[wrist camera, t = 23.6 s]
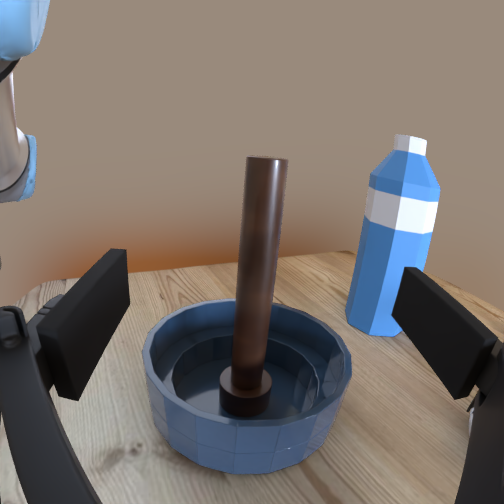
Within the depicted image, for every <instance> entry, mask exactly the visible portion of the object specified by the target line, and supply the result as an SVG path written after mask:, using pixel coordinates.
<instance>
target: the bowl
mask: <svg viewBox="0 0 504 504" xmlns="http://www.w3.org/2000/svg"><path fill="white" fill-rule="evenodd" d="M235 301H236V299H233V298H228V299H219V300H209V301H203V302H199V303H196V304H192V305H189V306H185V307H182V308H180V309H178V310H176V311H175V312H173V313H171V314H169V315H167V316H165V317H163V318H162V319H161V320H160V321H159V322H158V323H157V324H156V325H155V326H154V327H153V328H152V329H151V330H150V332H149V333H148V335H147V338H146V341H145V344H144V347H143V350H142V357H143V364H144V371H145V378H146V384H147V390H148V396H149V402H150V407H151V411H152V415H153V420H154V424H155V426H156V428H157V429H158V430H159V432H160V433H161V434H162V436H163V437H164V438H165V440H166V441H167V442H168V444H169V445H170V446H171V447H172V448H174V449H175V450H177V451H178V452H180V453H181V454H183V455H184V456H186V457H187V458H189V459H190V460H192V461H193V462H195V463H197V464H198V465H201V466H205V467H208V468H212V469H215V470H219V471H223V472H226V473H230V474H263V473H271V472H274V471H277V470H280V469H283V468H286V467H289V466H292V465H295V464H298V463H300V462H301V461H303V460H304V459H305V458H307V457H308V456H309V455H311V454H312V453H313V452H314V451H316V450H317V449H318V448H319V447H321V446H322V445H323V443H324V441H325V440H326V438H327V436H328V434H329V432H330V431H331V429H332V427H333V425H334V422H335V420H336V417H337V415H338V412H339V410H340V407H341V404H342V402H343V399H344V396H345V394H346V391H347V388H348V385H349V382H350V380H351V377H352V363H351V354H350V352H349V351H348V349H347V347H346V345H345V343H344V342H343V340H342V338H341V337H340V336H339V335H338V334H337V333H336V332H335V331H333V330H332V329H331V328H330V327H329V326H328V325H327V324H326V323H324V322H322V321H321V320H319V319H317V318H315V317H313V316H311V315H310V314H308V313H306V312H304V311H301V310H298V309H295V308H292V307H289V306H286V305H283V304H279V303H273V302H272V308H271V316H270V324H269V331H268V339H267V346H266V354H265V361H264V368H263V369H264V370H266V371H267V372H268V373H269V374H270V376H271V378H272V388H271V394H270V399H269V405H268V407H267V408H266V410H265V411H263V412H262V413H261V414H259V415H256V416H253V417H239V416H235V415H232V414H230V413H228V412H227V411H225V410H224V409H223V408H222V406H221V405H220V402H219V380H220V375H221V373H222V372H223V371H224V370H225V369H226V368H228V367H229V366H231V361H232V346H233V330H234V316H235Z"/></svg>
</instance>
